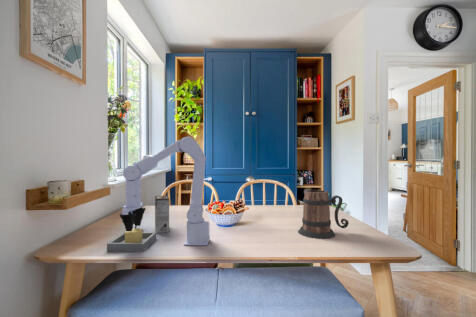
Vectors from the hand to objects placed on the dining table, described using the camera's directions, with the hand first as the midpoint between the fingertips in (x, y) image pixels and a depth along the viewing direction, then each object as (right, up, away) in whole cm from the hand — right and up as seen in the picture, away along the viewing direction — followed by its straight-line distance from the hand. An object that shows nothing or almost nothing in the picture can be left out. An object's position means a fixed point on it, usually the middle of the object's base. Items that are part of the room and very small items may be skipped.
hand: (133, 228), depth 98 cm
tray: (0, -7, 0) cm, 7 cm away
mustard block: (0, -6, 0) cm, 6 cm away
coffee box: (+5, -7, +20) cm, 22 cm away
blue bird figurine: (-8, -7, +17) cm, 20 cm away
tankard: (+83, -7, +15) cm, 85 cm away
